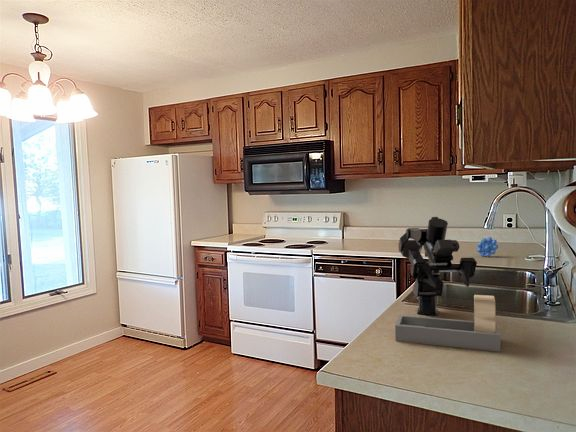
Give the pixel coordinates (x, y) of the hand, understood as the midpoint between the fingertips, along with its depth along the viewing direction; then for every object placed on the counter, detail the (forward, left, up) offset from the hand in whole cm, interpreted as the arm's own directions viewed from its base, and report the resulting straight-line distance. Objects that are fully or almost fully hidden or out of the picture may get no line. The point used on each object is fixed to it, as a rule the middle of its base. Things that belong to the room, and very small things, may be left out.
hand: (452, 285), depth 120 cm
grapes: (-145, +19, -15) cm, 147 cm away
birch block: (+2, +8, -13) cm, 16 cm away
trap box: (+2, -2, -15) cm, 15 cm away
